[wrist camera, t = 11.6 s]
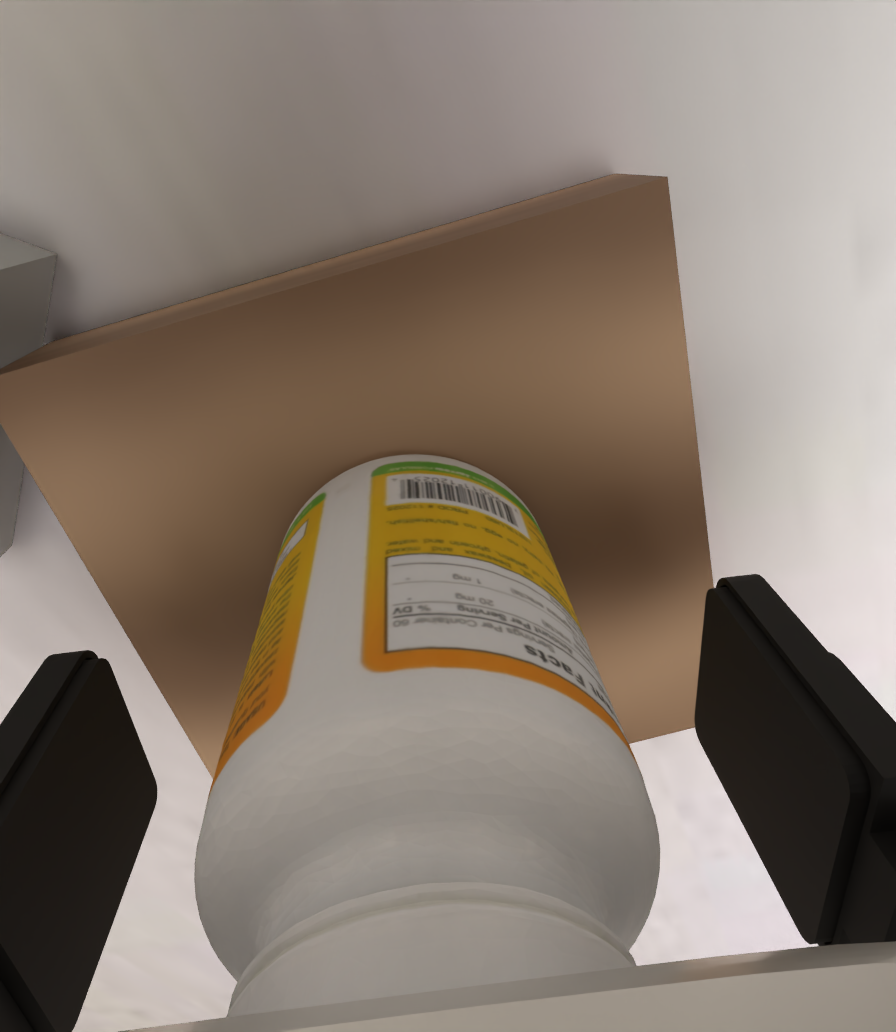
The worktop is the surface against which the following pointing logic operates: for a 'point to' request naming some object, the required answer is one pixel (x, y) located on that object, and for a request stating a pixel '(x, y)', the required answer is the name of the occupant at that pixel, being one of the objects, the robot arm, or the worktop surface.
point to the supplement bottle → (420, 759)
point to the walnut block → (393, 433)
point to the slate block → (19, 348)
